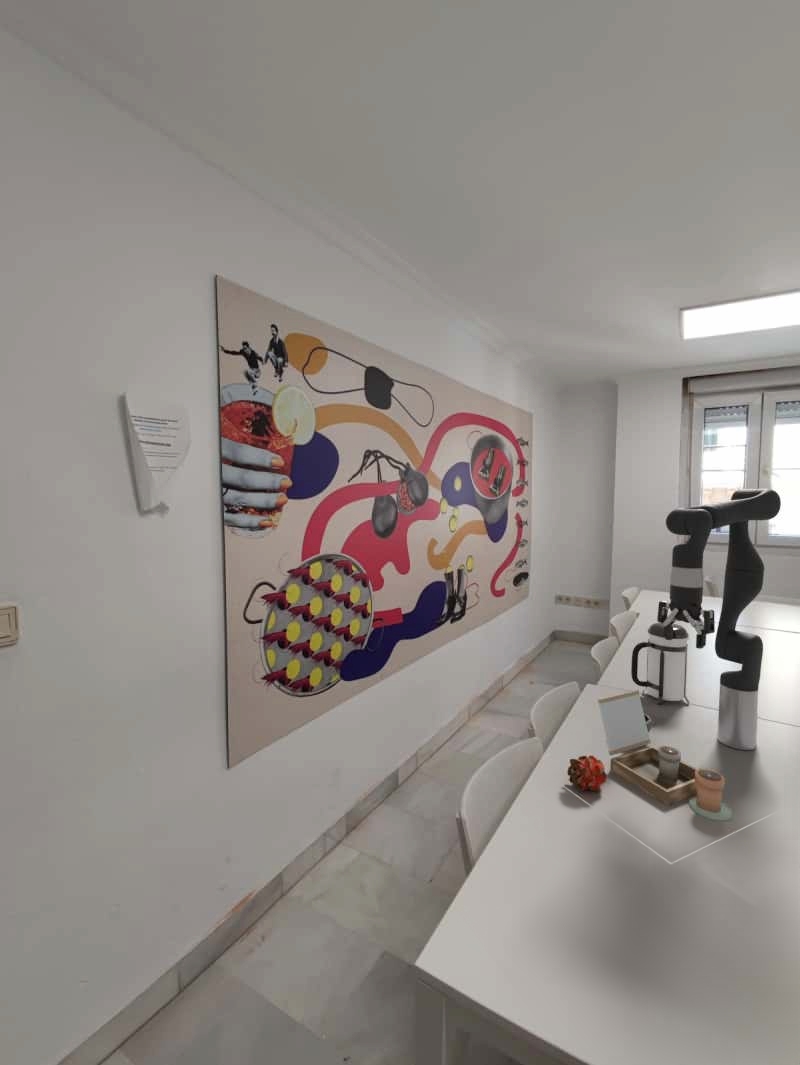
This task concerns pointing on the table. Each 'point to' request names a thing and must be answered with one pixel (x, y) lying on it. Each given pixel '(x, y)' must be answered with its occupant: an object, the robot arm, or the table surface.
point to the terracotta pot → (709, 789)
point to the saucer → (720, 816)
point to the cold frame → (654, 775)
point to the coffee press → (664, 664)
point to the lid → (624, 722)
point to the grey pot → (669, 762)
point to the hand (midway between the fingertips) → (683, 643)
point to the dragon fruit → (587, 773)
